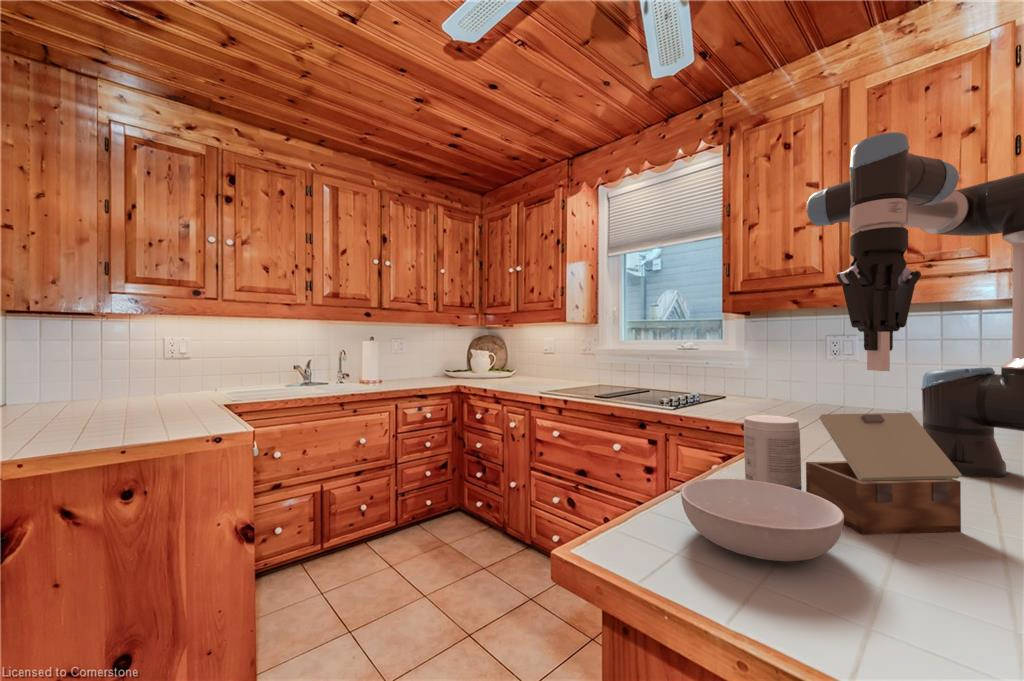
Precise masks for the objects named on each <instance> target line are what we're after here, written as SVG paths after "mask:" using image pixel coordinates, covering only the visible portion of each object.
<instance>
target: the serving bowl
mask: <svg viewBox="0 0 1024 681" xmlns="http://www.w3.org/2000/svg"><path fill="white" fill-rule="evenodd" d="M680 498H681V502H682V506H683V510H684V513H685V515H686V517H687V520H689V522H690V524H691V525H692V526H693V528H695V529H696V531H697V532H698V533H700V534H701V535H702V536H703V537H704V538H706V539H707V540H709V541H711V542H712V543H713V544H716V545H717V546H719V547H721V548H723V549H726V550H728V551H731V552H733V553H737V554H740V555H743V556H747V557H752V558H756V559H760V560H767V561H776V562H796V561H797V562H799V561H805V560H810V559H814V558H817V557H820V556H822V555H823V554H826V553H827V552H828V551H829V550H831V549H832V548H833V547H834V546H835V545H836V544H837V542H838V541H839V539H840V537H841V534H842V532H843V527H844V525H843V523H844V514H843V512H842V511H841V510H840V509H839V508H838V507H837V506H836V505H834V504H833V503H831V502H829V501H828V500H825V499H823V498H821V497H819V496H816V495H814V494H811V493H808V492H806V490H798V489H794V488H791V487H786V486H782V485H777V484H772V483H766V482H760V481H752V480H745V479H739V478H724V477H723V478H707V479H699V480H694V481H691V482H688V483H687V484H685V485H683V487H682V488H681V490H680Z"/></svg>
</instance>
